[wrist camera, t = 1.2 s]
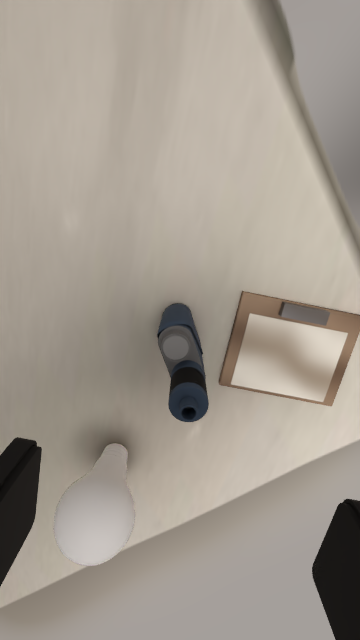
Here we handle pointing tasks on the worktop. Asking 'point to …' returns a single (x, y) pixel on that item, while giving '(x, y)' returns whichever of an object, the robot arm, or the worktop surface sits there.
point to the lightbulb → (96, 511)
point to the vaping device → (183, 363)
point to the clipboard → (289, 349)
